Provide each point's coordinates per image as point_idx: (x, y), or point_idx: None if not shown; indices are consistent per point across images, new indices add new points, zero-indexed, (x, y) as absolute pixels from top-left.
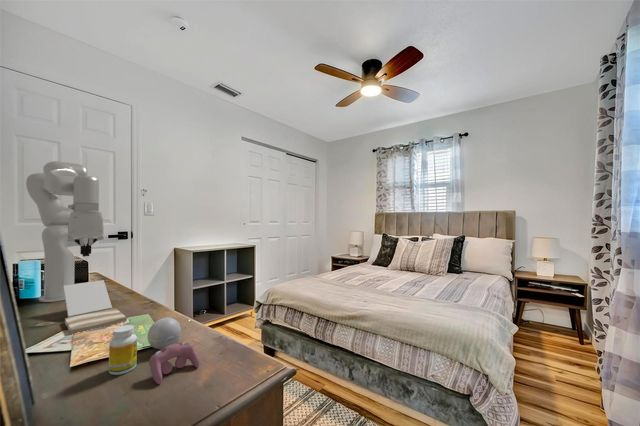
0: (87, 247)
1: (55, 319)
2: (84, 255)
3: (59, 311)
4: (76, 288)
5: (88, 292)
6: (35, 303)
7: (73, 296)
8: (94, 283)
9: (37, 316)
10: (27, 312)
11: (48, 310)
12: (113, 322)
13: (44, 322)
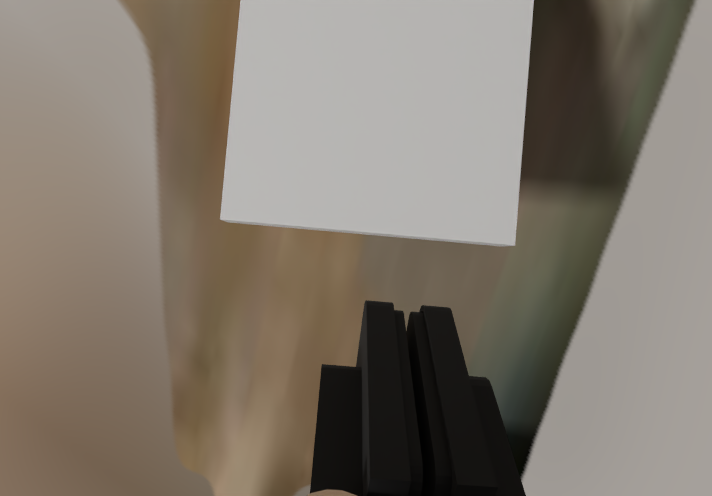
0: (406, 448)
1: (554, 21)
2: (442, 312)
3: None
4: (439, 173)
5: (370, 89)
6: None
7: (477, 77)
8: (301, 194)
9: (579, 186)
10: (573, 307)
11: (503, 265)
12: None
13: (613, 6)
